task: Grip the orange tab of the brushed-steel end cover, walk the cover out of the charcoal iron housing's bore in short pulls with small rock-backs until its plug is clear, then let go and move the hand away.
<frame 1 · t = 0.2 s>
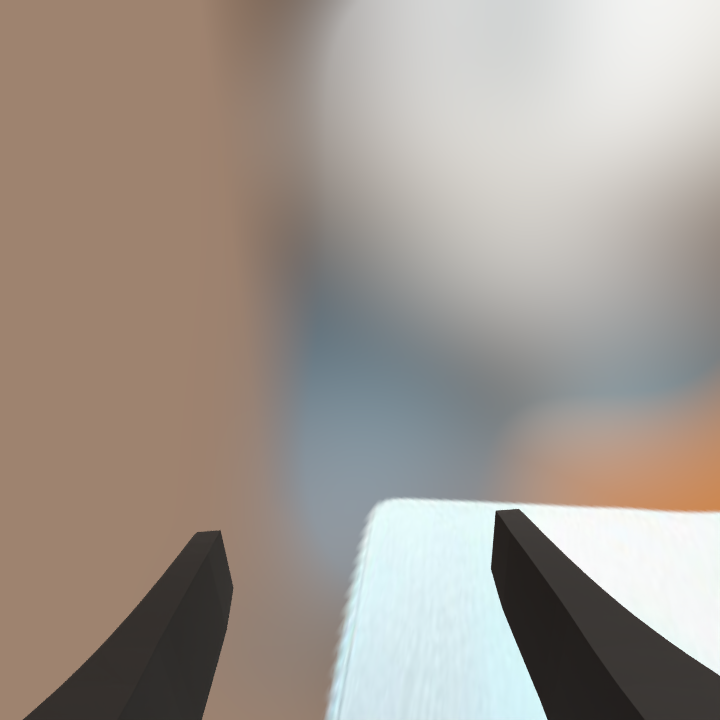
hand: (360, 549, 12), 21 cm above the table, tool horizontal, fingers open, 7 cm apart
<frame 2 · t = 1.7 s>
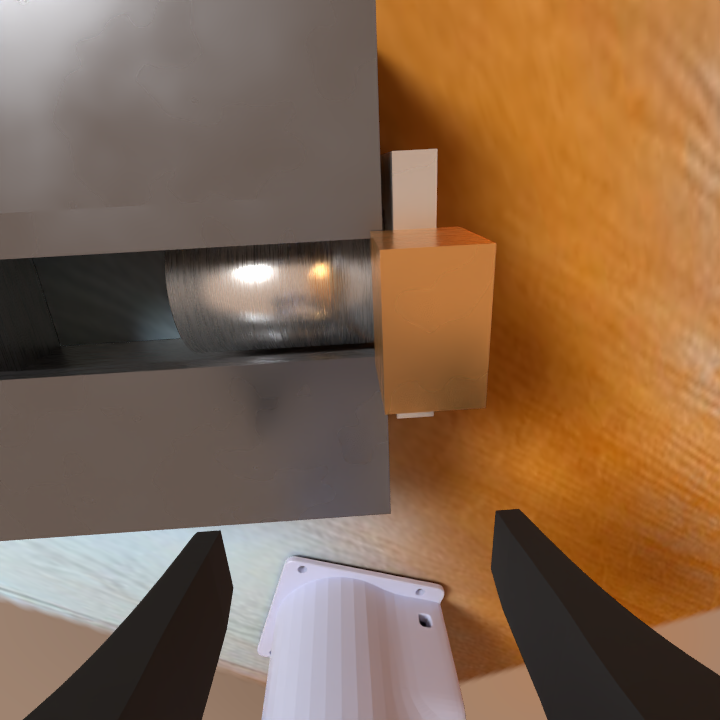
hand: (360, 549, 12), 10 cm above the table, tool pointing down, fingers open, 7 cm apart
end cover: (310, 292, 15), point 5 cm above the table, slide at 0.0 cm
housing: (182, 271, 19), on the table
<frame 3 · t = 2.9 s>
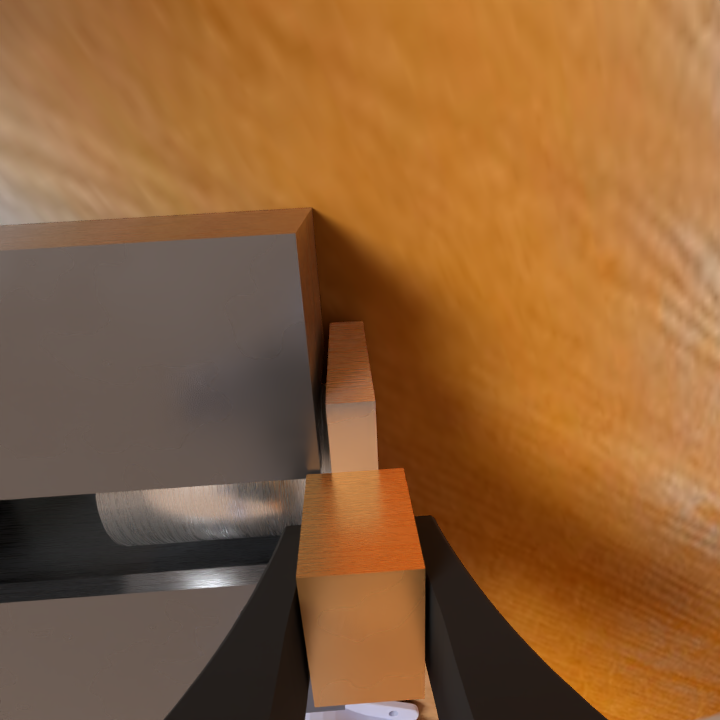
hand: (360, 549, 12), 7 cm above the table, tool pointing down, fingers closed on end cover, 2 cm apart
end cover: (252, 502, 14), point 5 cm above the table, slide at 0.0 cm, touching gripper
housing: (132, 426, 18), on the table
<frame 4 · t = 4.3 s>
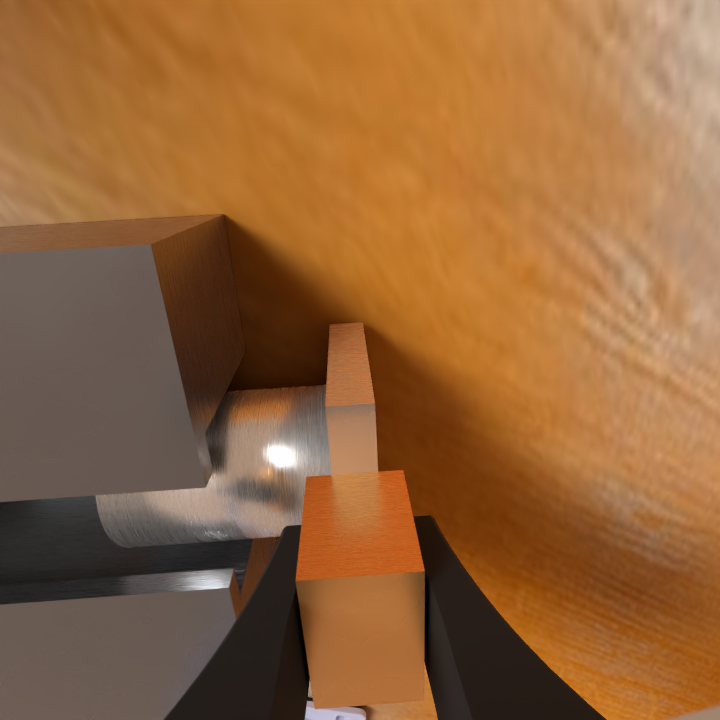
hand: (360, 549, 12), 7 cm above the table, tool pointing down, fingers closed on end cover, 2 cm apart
end cover: (252, 504, 14), point 5 cm above the table, slide at 3.0 cm, touching gripper
housing: (58, 433, 18), on the table
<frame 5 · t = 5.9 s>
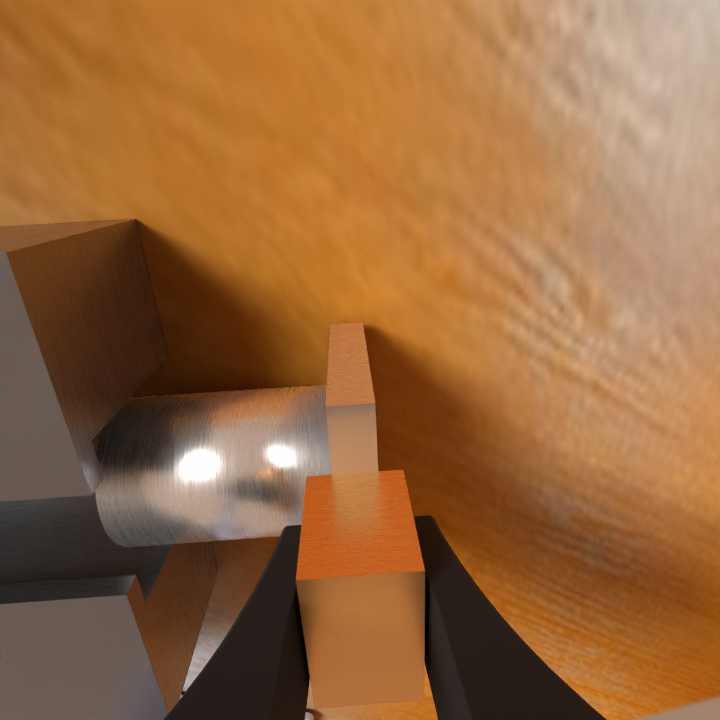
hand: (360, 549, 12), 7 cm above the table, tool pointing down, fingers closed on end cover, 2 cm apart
end cover: (252, 503, 14), point 5 cm above the table, slide at 5.9 cm, touching gripper
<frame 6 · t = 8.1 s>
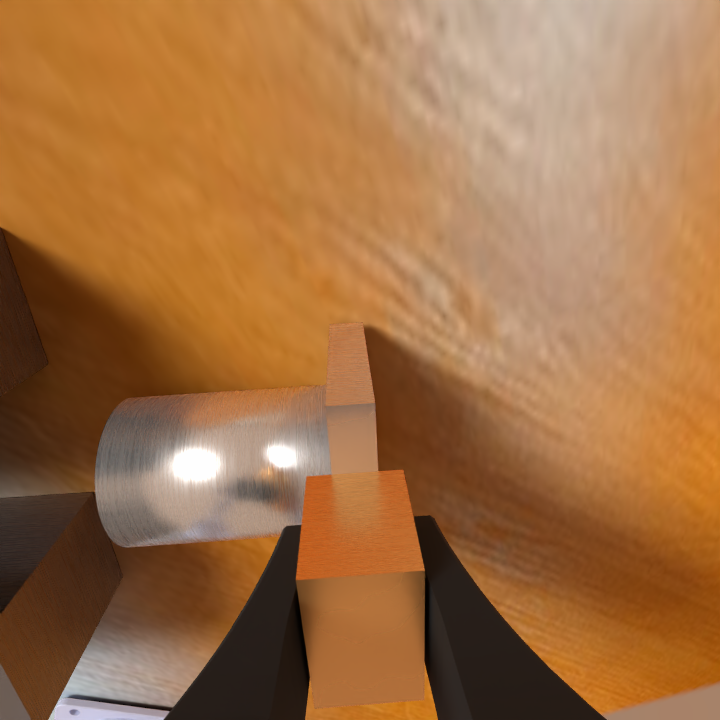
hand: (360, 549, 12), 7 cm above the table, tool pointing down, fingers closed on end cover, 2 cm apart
end cover: (252, 503, 14), point 5 cm above the table, slide at 10.4 cm, touching gripper
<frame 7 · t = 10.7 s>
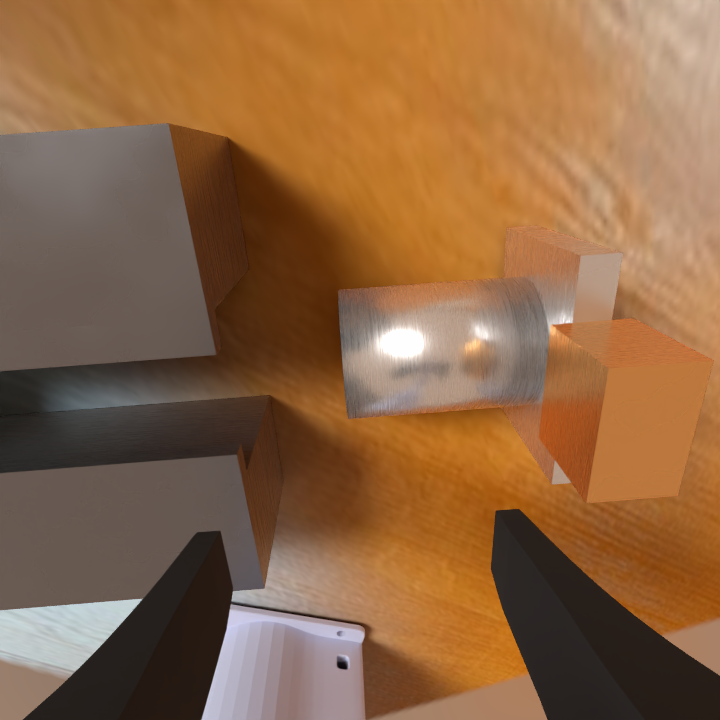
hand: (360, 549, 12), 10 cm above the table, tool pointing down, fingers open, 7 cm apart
end cover: (471, 369, 16), point 5 cm above the table, slide at 10.4 cm
housing: (80, 349, 20), on the table
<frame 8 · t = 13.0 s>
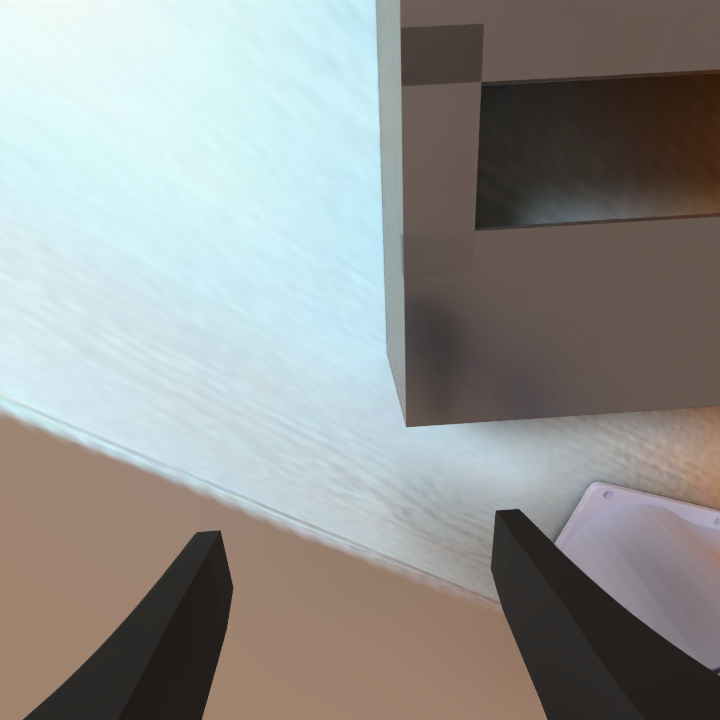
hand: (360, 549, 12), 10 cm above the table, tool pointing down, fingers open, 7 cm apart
housing: (581, 154, 18), on the table
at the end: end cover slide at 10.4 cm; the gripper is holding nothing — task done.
